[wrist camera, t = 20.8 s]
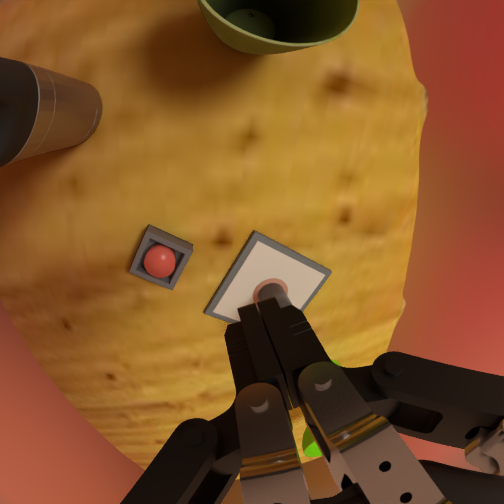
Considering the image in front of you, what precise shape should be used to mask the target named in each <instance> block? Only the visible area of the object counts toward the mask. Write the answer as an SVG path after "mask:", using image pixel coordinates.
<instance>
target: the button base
mask: <svg viewBox="0 0 504 504" xmlns="http://www.w3.org/2000/svg"><path fill="white" fill-rule="evenodd" d="M157 242H159V243H162V244H164V245H166V246H168V247H170V248H173V249H174V251H175V254H176V260H175V268H174V271H173V272H172V273H171V274H170V275H169V276H167V277H163V278H157V277H154V276H152V275H150V274H149V273H148V272H147V271H146V269H145V266H144V260H145V256H146V253H147V250H148V248H149V247H150V246H151V245H152V244H154V243H157ZM192 252H193V244H191V243H189V242H187V241H184V240H182V239H180V238H178V237H176V236H173V235H171V234H169V233H167V232H165V231H163V230H160V229H158V228H156V227H154V226H152V225H150V224H149V226H148V228H147V230H146V232H145V235H144V237H143V239H142V241H141V244H140V246H139V248H138V251H137V253H136V255H135V258H134V260H133V262H132V265H131V268H130V271H129V272H130V273H132V274H134V275H137V276H139V277H141V278H144V279H146V280H148V281H151V282H153V283H156V284H158V285H160V286H163V287H165V288H168V289H170V290H173V288H174V286H175V284H176V283H177V281H178V279H179V277H180V275H181V273H182V271H183V269H184V267H185V265H186V264H187V262H188V260H189V258H190V256H191V254H192Z"/></svg>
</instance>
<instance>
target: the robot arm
mask: <svg viewBox="0 0 504 504" xmlns="http://www.w3.org/2000/svg"><path fill="white" fill-rule="evenodd" d="M101 113H102V102H101V98H100V95H99V93H98V92H97V90H96V89H95V88H94V87H93V86H91V85H90V84H87V83H85V82H82V81H79V80H77V79H74V78H72V77H69V76H66V75H63V74H60V73H57V72H54V71H51V70H48V69H44V68H41V67H37V66H34V65H30V64H27V63H23V62H20V61H15V60H11V59H6V58H2V57H0V167H2V166H4V165H7V164H10V163H13V162H16V161H20V160H22V159H26V158H29V157H32V156H36V155H39V154H43V153H47V152H50V151H54V150H58V149H63V148H67V147H71V146H75V145H78V144H80V143H82V142H84V141H85V140H87V139H88V138H89V137H90V136H91V135H92V134H93V132H94V131H95V129H96V128H97V126H98V124H99V121H100V119H101ZM257 306H258V309H257ZM257 306H256V304H255V303H252V304H249V305H246V306H243V307H239V308H237V310H238V314H239V317H240V321H239V322H236V323H233V324H230V325H228V326H227V329H226V332H225V335H224V336H225V341H226V346H227V351H228V355H229V360H230V365H231V369H232V374H233V378H234V383H235V387H236V397H235V400H234V402H233V404H232V406H231V407H230V408H229V409H228V410H227V411H226V412H224V413H223V414H221V415H219V416H217V417H216V418H214V419H212V420H210V421H207V420H205V419H200V418H193V419H189V420H186V421H184V422H182V423H181V424H180V425H179V426H178V427H177V428H176V429H175V431H174V432H173V433H172V435H171V436H170V438H169V439H168V440H167V442H166V443H165V444H164V446H163V447H162V449H161V450H160V451H159V453H158V454H157V456H156V457H155V458H154V460H153V461H152V462H151V464H150V465H149V466H148V468H147V469H146V470H145V472H144V473H143V475H142V476H141V477H140V479H139V480H138V481H137V482H136V484H135V485H134V486H133V488H132V489H131V490H130V492H129V493H128V494H127V495H126V497H125V498H124V499H123V501H122V502H121V503H120V504H221V502H222V500H223V499H224V497H225V496H226V494H227V492H228V491H229V489H230V487H231V486H232V484H233V483H234V481H235V479H236V478H237V476H238V474H239V472H240V483H241V489H242V495H243V502H244V504H504V376H499V375H494V374H489V373H484V372H479V371H475V370H470V369H466V368H461V367H457V366H452V365H448V364H444V363H440V362H436V361H432V360H428V359H424V358H420V357H416V356H412V355H409V354H405V353H401V352H394V351H393V352H387V353H384V354H382V355H380V356H379V357H377V358H376V360H375V361H374V362H373V365H370V366H364V367H357V368H345V367H341V366H339V365H337V364H335V363H334V362H332V361H331V360H330V358H329V357H328V355H327V353H326V352H325V350H324V348H323V346H322V345H321V343H320V341H319V340H318V338H317V336H316V334H315V333H314V331H313V330H312V328H311V326H310V324H309V322H308V321H307V319H306V317H305V316H304V314H303V312H302V311H301V310H300V309H298V308H297V307H295V306H293V305H289V306H286V307H283V308H280V306H279V304H278V302H277V300H276V298H275V296H274V297H271V298H268V299H265V300H261V301H258V302H257ZM258 310H259V311H258ZM289 397H290V399H289ZM290 400H291V403H292V405H293V408H296V407H299V406H300V408H301V410H302V412H303V415H304V417H305V423H306V425H307V427H308V429H309V431H310V433H311V435H312V437H313V438H314V440H315V442H316V444H317V446H318V448H319V450H320V451H321V453H322V455H323V457H324V459H325V461H326V463H327V464H328V467H329V470H330V472H331V474H332V477H333V479H334V481H335V483H336V484H337V486H338V488H339V490H340V493H338V494H337V495H335V496H333V497H329V498H323V499H315V500H311V497H310V493H309V490H308V486H307V483H306V479H305V476H304V472H303V469H302V465H301V461H300V458H299V454H298V451H297V447H296V443H295V440H294V436H293V432H292V429H293V427H292V422H291V419H290V415H289V412H288V410H291V409H292V407H291V403H290ZM397 432H398V433H402V434H405V435H408V436H412V437H416V438H419V439H423V440H427V441H430V442H434V443H439V444H443V445H447V446H452V447H457V448H462V449H465V459H466V461H467V462H469V463H470V464H471V465H473V466H476V467H478V468H480V469H481V470H482V472H483V473H482V472H477V471H472V470H467V469H462V468H458V467H453V466H449V465H446V464H442V463H438V462H434V461H428V460H417V458H416V457H415V456H414V454H413V453H412V452H411V450H410V449H409V448H408V446H407V445H406V443H405V442H404V441H403V439H402V438H401V437H400V435H399V434H398V433H397Z"/></svg>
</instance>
